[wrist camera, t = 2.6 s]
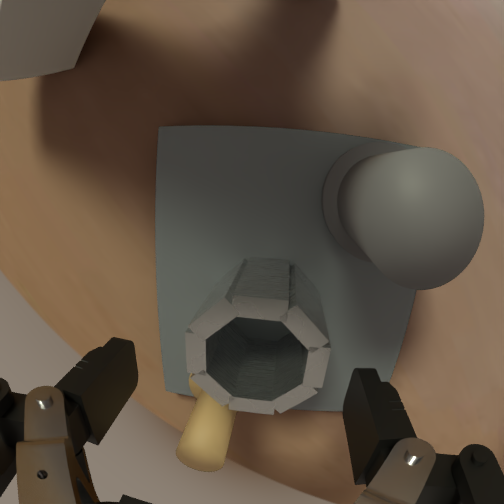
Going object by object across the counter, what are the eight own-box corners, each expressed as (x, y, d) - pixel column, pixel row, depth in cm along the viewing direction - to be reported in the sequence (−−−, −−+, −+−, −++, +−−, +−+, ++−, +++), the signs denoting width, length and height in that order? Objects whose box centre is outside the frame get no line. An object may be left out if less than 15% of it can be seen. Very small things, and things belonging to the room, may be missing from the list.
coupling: (324, 263, 15) (339, 305, 10) (310, 355, 16) (314, 417, 12) (215, 253, 15) (183, 289, 11) (214, 345, 17) (189, 402, 12)
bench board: (426, 151, 14) (513, 144, 7) (374, 399, 18) (398, 486, 11) (167, 129, 15) (83, 106, 8) (171, 380, 19) (127, 460, 12)
